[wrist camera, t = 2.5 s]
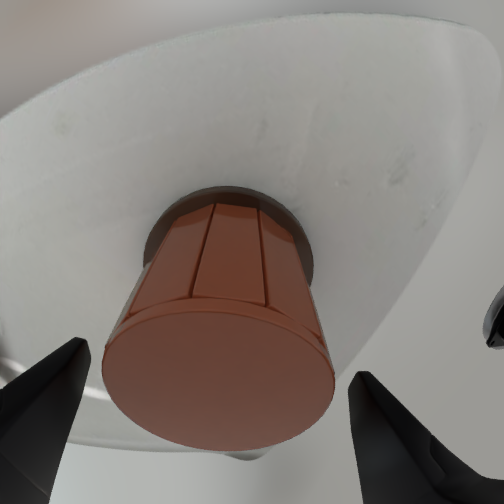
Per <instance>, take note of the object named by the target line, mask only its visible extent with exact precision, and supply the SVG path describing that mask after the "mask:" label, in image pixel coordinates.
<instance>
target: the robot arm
mask: <svg viewBox="0 0 504 504" xmlns="http://www.w3.org/2000/svg"><path fill="white" fill-rule="evenodd" d="M486 344H487V346H488V347H500V346H504V312H503V314H502V316H501V318H500V320H499V321H498V323H497V325H496V326H495V328H494V330H493V331H492V333H491V335H490V336H489V338H488V340H487V342H486ZM90 364H91V354H90V350H89V346H88V342H87V340H86V339H83V338H79V337H75V338H73V339H71V340H70V341H68V342H67V343H65V344H64V345H62V346H61V347H60V348H58V349H57V350H55V351H54V352H52V353H51V354H49V355H48V356H47V357H45V358H44V359H42V360H41V361H39V362H38V363H37V364H35V365H34V366H32V367H31V368H30V369H28V370H27V371H25V372H24V373H22V374H21V375H20V376H18V377H17V378H15V379H14V380H13V381H11V382H10V383H8V384H7V385H6V386H4V387H3V389H0V504H49V500H50V496H51V492H52V488H53V485H54V481H55V477H56V474H57V470H58V467H59V464H60V461H61V457H62V454H63V451H64V448H65V444H66V442H67V439H68V436H69V433H70V430H71V427H72V424H73V421H74V418H75V415H76V413H77V410H78V407H79V404H80V401H81V398H82V394H83V390H84V386H85V382H86V379H87V375H88V371H89V367H90ZM348 399H349V411H350V424H351V433H352V438H353V444H354V449H355V455H356V461H357V467H358V473H359V478H360V485H361V491H362V498H363V504H504V480H497V479H490V478H486V477H483V476H481V475H479V474H478V473H477V472H475V471H474V470H473V469H471V468H470V467H469V466H468V465H466V464H465V463H464V462H462V461H461V460H460V459H459V458H458V457H456V456H455V455H454V454H453V453H452V452H451V451H449V450H448V449H447V448H446V447H445V446H444V445H443V444H442V443H441V442H440V441H439V440H438V439H437V438H436V437H435V436H433V435H432V434H431V433H430V431H428V429H427V428H425V427H424V426H423V425H422V424H421V423H420V422H419V421H418V420H417V419H416V418H415V417H414V416H413V415H412V414H411V413H410V412H409V411H408V410H407V409H406V408H405V407H404V406H403V405H402V404H401V403H400V402H399V401H398V400H397V399H396V398H395V397H394V396H393V395H392V394H391V393H390V392H389V391H388V390H387V389H386V388H385V387H384V386H383V385H382V384H381V383H380V382H379V381H378V380H377V379H376V378H375V377H374V376H373V375H372V374H371V373H370V372H368V371H358V372H357V373H356V374H355V376H354V378H353V380H352V382H351V383H350V385H349V388H348Z"/></svg>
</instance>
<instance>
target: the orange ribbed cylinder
mask: <svg viewBox="0 0 504 504" xmlns="http://www.w3.org/2000/svg"><path fill="white" fill-rule="evenodd" d="M334 374H335V372H334V369H333V365H332V361H331V358H330V354H329V351H328V347H327V344H326V340H325V337H324V333H323V330H322V326H321V323H320V320H319V316H318V313H317V309H316V306H315V303H314V300H313V296H312V293H311V290H310V286H309V283H308V280H307V277H306V274H305V270H304V267H303V264H302V261H301V259H300V256H299V253H298V250H297V247H296V245H295V242H294V239H293V236H291V234H290V232H288V231H287V230H286V229H285V228H283V227H282V226H281V225H279V224H278V223H277V222H275V221H274V220H273V219H272V218H270V217H269V216H268V215H266V214H265V213H264V212H262V211H261V210H259V211H258V212H257V209H256V208H249V207H242V206H234V205H227V204H219V203H217V204H216V206H214V204H211V205H208V206H206V207H203V208H201V209H198V210H196V211H193V212H191V213H188V214H186V215H184V216H181V217H179V218H178V219H177V220H175V221H174V222H173V223H172V225H171V226H170V228H169V229H168V230H167V232H166V233H165V235H164V236H163V238H162V239H161V240H160V242H159V243H158V245H157V246H156V248H155V250H154V251H153V253H152V255H151V257H150V259H149V260H148V262H147V264H146V266H145V268H144V270H143V271H142V273H141V275H140V277H139V279H138V281H137V283H136V285H135V286H134V288H133V290H132V292H131V294H130V296H129V298H128V300H127V302H126V304H125V306H124V308H123V310H122V312H121V314H120V316H119V318H118V320H117V322H116V324H115V326H114V328H113V330H112V332H111V334H110V336H109V339H108V341H107V343H106V345H105V350H104V355H103V359H102V377H103V382H104V385H105V387H106V390H107V392H108V394H109V396H110V397H111V399H112V400H113V402H114V403H115V404H116V406H117V407H118V408H119V409H120V410H121V411H122V412H123V413H124V414H125V415H126V416H127V417H128V418H130V419H131V420H132V421H133V422H135V423H136V424H137V425H139V426H140V427H142V428H143V429H145V430H147V431H149V432H151V433H152V434H154V435H157V436H159V437H161V438H163V439H166V440H168V441H171V442H174V443H177V444H181V445H184V446H188V447H193V448H197V449H204V450H213V451H244V450H252V449H259V448H263V447H268V446H272V445H275V444H278V443H281V442H284V441H286V440H289V439H291V438H293V437H295V436H297V435H299V434H301V433H302V432H304V431H305V430H307V429H308V428H310V427H311V426H312V425H313V424H314V423H316V422H317V421H318V420H319V419H320V418H321V417H322V416H323V414H324V413H325V412H326V410H327V409H328V407H329V405H330V403H331V401H332V398H333V395H334V390H335V377H334Z"/></svg>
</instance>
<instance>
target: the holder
mask: <svg viewBox="0 0 504 504" xmlns="http://www.w3.org/2000/svg"><path fill="white" fill-rule="evenodd" d="M217 203H219V204H227V205H234V206H242V207H249V208H256V209H257V212H258V211H259V210H261V211H262V212H264V213H265V214H266V215H268V216H269V217H270V218H272V219H273V220H274V221H275V222H277V223H278V224H279V225H281V226H282V227H283V228H285V229H286V230H287V231H288V232H290V234H291V236H293V239H294V242H295V245H296V247H297V250H298V253H299V256H300V259H301V261H302V264H303V267H304V270H305V274H306V277H307V280H308V283H309V286H311V282H312V278H313V267H314V264H313V255H312V251H311V247H310V244H309V242H308V239H307V237H306V234H305V232H304V230H303V228H302V227H301V225H300V223H299V222H298V220H297V219H296V218H295V217H294V216H293V214H292V213H291V212H290V211H289V210H288V209H287V208H285V207H284V206H283V205H282V204H280V203H279V202H277V201H276V200H275V199H273V198H271V197H269V196H267V195H265V194H263V193H260V192H257V191H255V190H252V189H247V188H242V187H233V186H220V187H211V188H206V189H202V190H199V191H196V192H193V193H191V194H189V195H187V196H185V197H183V198H181V199H180V200H178V201H177V202H175V203H174V204H172V205H171V206H170V207H169V208H168V209H167V210H166V211H165V212H164V213H163V214H162V216H161V217H160V218H159V219H158V221H157V222H156V224H155V225H154V227H153V229H152V231H151V232H150V234H149V237H148V239H147V242H146V245H145V250H144V257H143V267H144V268H145V266H146V264H147V262H148V260H149V259H150V257H151V255H152V253H153V251H154V250H155V248H156V246H157V245H158V243H159V242H160V240H161V239H162V238H163V236H164V235H165V233H166V232H167V230H168V229H169V228H170V226H171V225H172V223H173V222H174V221H175V220H177V219H178V218H179V217H181V216H184V215H186V214H188V213H191V212H193V211H196V210H198V209H201V208H203V207H206V206H208V205H211V204H214V206H216V204H217Z"/></svg>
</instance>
